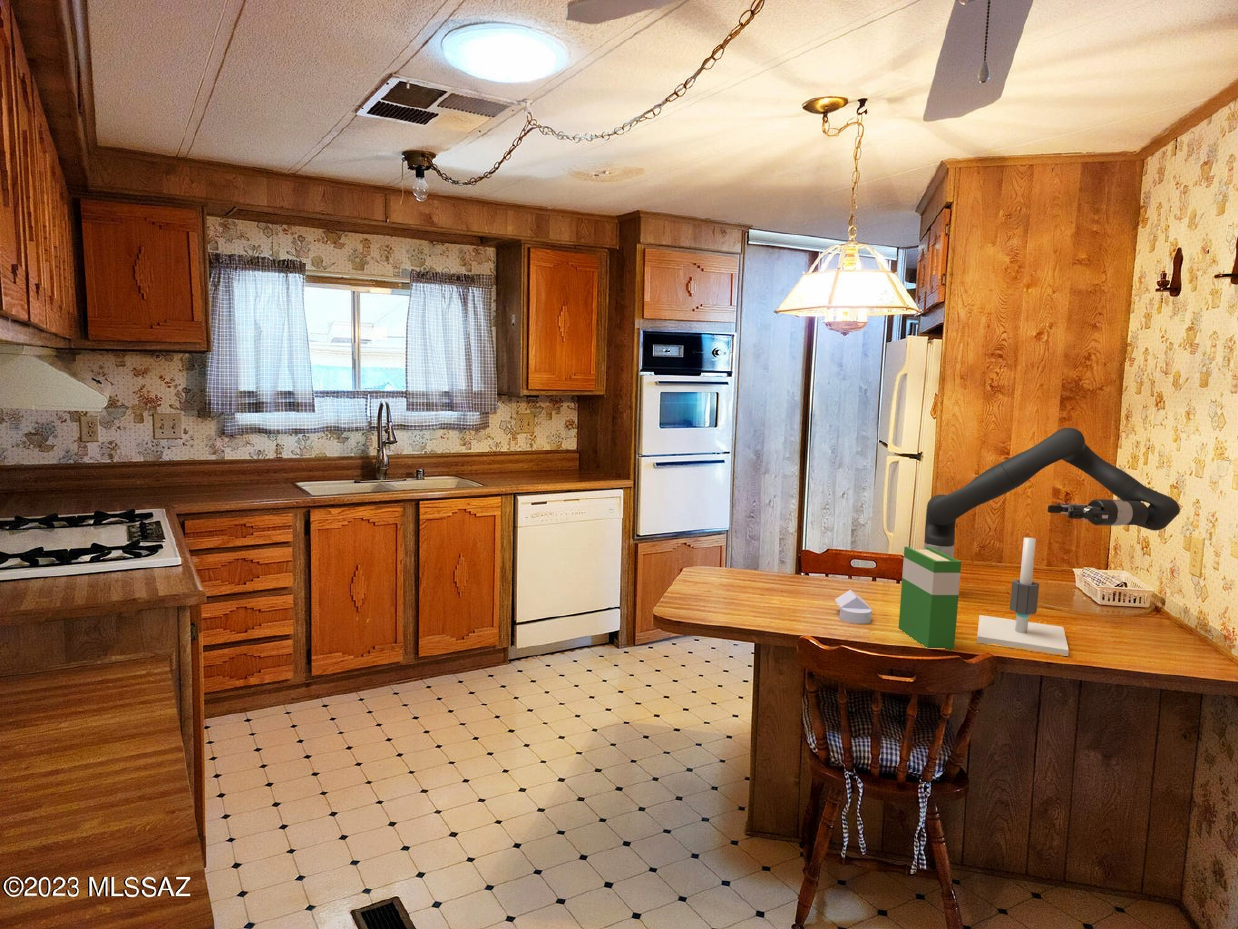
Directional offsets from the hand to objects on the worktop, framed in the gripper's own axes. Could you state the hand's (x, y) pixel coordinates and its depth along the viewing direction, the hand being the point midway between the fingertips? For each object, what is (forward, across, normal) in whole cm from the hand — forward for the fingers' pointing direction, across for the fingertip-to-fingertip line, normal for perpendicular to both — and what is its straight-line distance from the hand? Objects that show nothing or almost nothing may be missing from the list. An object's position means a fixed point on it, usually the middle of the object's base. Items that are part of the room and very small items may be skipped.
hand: (1058, 511), depth 232 cm
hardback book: (+40, +4, +36) cm, 54 cm away
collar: (+12, +6, +27) cm, 30 cm away
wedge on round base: (+52, -16, +36) cm, 65 cm away
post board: (+12, +6, +35) cm, 38 cm away
